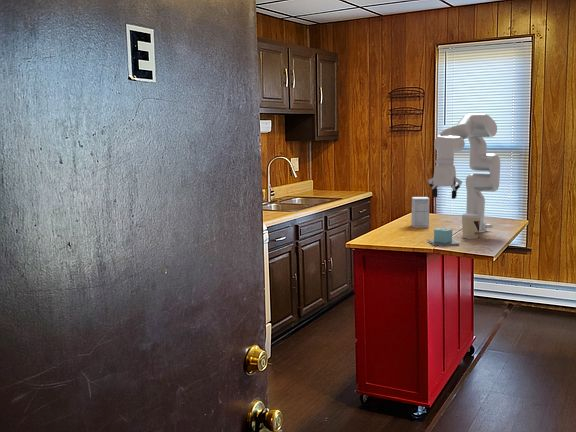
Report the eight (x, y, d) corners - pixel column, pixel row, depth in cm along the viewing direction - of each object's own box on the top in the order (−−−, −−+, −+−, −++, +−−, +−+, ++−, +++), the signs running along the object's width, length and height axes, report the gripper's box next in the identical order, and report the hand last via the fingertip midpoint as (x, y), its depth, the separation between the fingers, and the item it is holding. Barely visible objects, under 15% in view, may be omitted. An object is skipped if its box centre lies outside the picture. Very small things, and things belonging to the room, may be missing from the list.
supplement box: (427, 225, 354) (428, 196, 352) (429, 227, 345) (430, 198, 343) (410, 225, 355) (411, 196, 353) (412, 227, 346) (413, 198, 344)
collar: (439, 239, 300) (440, 227, 299) (452, 241, 296) (452, 229, 295) (433, 241, 295) (434, 229, 294) (445, 243, 291) (446, 230, 290)
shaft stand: (450, 241, 302) (451, 227, 301) (459, 245, 290) (459, 231, 289) (427, 241, 301) (427, 227, 300) (434, 245, 289) (435, 231, 288)
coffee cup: (477, 239, 306) (478, 216, 305) (458, 237, 311) (459, 214, 310) (482, 236, 314) (483, 214, 312) (464, 235, 319) (464, 212, 317)
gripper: (425, 162, 294) (424, 197, 296) (459, 163, 282) (457, 199, 285) (432, 161, 299) (431, 196, 302) (465, 162, 288) (464, 198, 290)
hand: (444, 197), depth 293 cm, fingers open, 9 cm apart
